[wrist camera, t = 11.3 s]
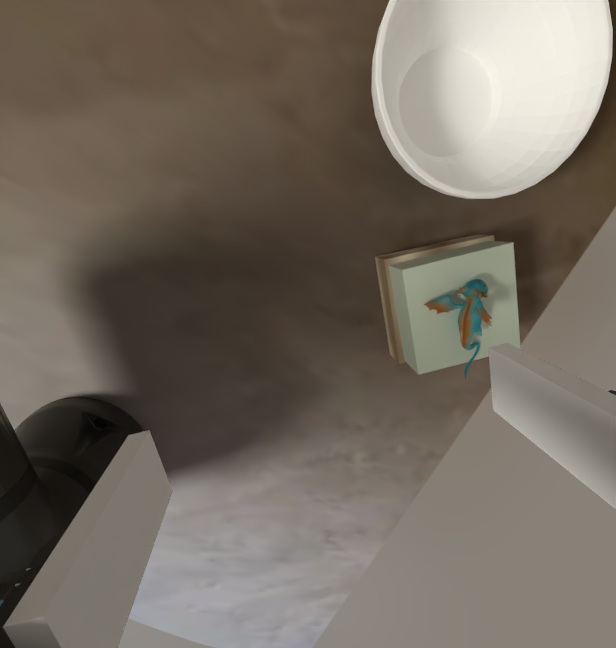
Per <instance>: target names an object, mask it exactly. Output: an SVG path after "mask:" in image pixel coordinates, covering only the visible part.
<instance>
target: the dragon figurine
mask: <svg viewBox="0 0 616 648" xmlns="http://www.w3.org/2000/svg"><path fill="white" fill-rule="evenodd" d="M487 292H488V287H487V285H486V283H485V282H484V281H483V280H481V279H474V280H471V281H469V282H468V283H467V284H466V285H465V286H464V287H462V288H459V290H456V292H454V294H460V293H461V294H463V295H464V296H465V298H466V301H465V302H464V303H463V304H455V303H453V302H452V300H451V296H450V295H445V296H443V297H441V298H438V299H436V300H433V301H431V302H428V303H425V304H424V305H426V306H427V307H428V308H429V310H433V309H435V310H437V314H439V313H442V312H447V313H448V312H449V311H452V310H455V309H458V308H461V310H460V313H459V316H458V327H459V333H460V341H461V344H462V347H463V348H464V349H466V350H472V349H473V348H474V347H475V346H476V345H477V350H476V352H475V353H474V355H473V357H472V358H471V359H470V361H469V362H468V364H467V366H466V369H465V378H466V374H467V370H468V367H469V365H470V363H471V362H472V360H473V359H474V358H475V356H476V355H477V353H478V351H479V348H480V343H479V342H474V343H472V344H470V341H471V338H472V336H473V334H474V333H475V332H476V333H477V335H479V336H482V329H481V321H482V319H483V321H484V322H486V323H487V324H489V323H491V322H490V320H489V319H492V317H491V316H490V315H489V314H488V313H487V312H486V310H485V309H484V307H483V304H482V301H481V300H480V299H481V298H483V297H485V298H486V297H488V296H487ZM488 322H489V323H488ZM489 325H490V324H489ZM490 326H492V325H490Z"/></svg>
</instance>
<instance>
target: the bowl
mask: <svg viewBox="0 0 616 648" xmlns="http://www.w3.org/2000/svg"><path fill="white" fill-rule="evenodd" d="M612 41H613V28H612V21H611V15H610V8H609V2H608V0H390V1H389V3H388V6H387V8H386V11H385V14H384V16H383V19H382V22H381V24H380V27H379V30H378V34H377V40H376V45H375V50H374V55H373V62H372V91H371V92H372V98H373V105H374V112H375V117H376V120H377V123H378V126H379V129H380V132H381V135H382V138H383V139H384V141H385V143H386V145H387V146H388V148H389V150H390V152H391V154H392V155H393V157H394V158H395V159H396V160H397V162H398V163H399V164H400V165H401V166H402V167H403V169H404V170H405V171H406V172H407V173H408V174H410V175H411V176H412V177H414V178H415V179H416V180H418V181H419V182H420V183H422V184H423V185H425V186H428V187H430V188H432V189H434V190H436V191H438V192H441V193H443V194H446V195H450V196H455V197H460V198H465V199H491V198H498V197H502V196H507V195H511V194H515V193H517V192H520V191H522V190H524V189H526V188H528V187H531V186H533V185H535V184H537V183H538V182H539V181H541V180H542V179H544V178H545V177H547V176H548V175H550V174H551V173H552V172H554V171H555V170H556V169H557V168H558V167H559V166H560V165H561V164H562V163H563V162H564V161H565V160H566V159H567V158H568V157H569V156H570V155H571V154H572V153H573V152H574V150H575V149H576V148H577V146H578V145H579V143H580V142H581V141H582V139H583V138H584V136H585V135H586V134H587V132H588V130H589V128H590V126H591V124H592V122H593V120H594V118H595V116H596V115H597V113H598V111H599V108H600V105H601V102H602V99H603V96H604V93H605V90H606V87H607V84H608V79H609V73H610V67H611V61H612Z"/></svg>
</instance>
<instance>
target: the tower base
mask: <svg viewBox="0 0 616 648" xmlns="http://www.w3.org/2000/svg"><path fill="white" fill-rule="evenodd" d="M485 241H495V239H494V235H482V234H475V235H471V236H466V237H462V238H457V239H453V240H448V241H444V242H439V243H435V244H430V245H426V246H421V247H417V248H412V249H408V250H403V251H399V252H394V253H390V254H385V255H381V256H376V257H375V260H376V267H377V273H378V280H379V286H380V293H381V299H382V306H383V312H384V319H385V325H386V332H387V339H388V345H389V352H390V355H391V356H392V357H393V358H394V359H395V360H396V361H397V362H398V364H399V365H400V364H404V363H406V362H405V360H404V354H403V348H402V342H401V336H400V330H399V324H398V318H397V312H396V306H395V300H394V294H393V288H392V282H391V276H390V270H389V265H392V264H396V263H400V262H404V261H408V260H412V259H416V258H420V257H424V256H429V255H433V254H437V253H441V252H445V251H449V250H453V249H457V248H461V247H465V246H469V245H473V244H477V243H481V242H485Z"/></svg>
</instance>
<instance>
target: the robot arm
mask: <svg viewBox="0 0 616 648" xmlns="http://www.w3.org/2000/svg"><path fill="white" fill-rule="evenodd" d="M488 349H489V362H490V376H491V389H492V402H493V410H494V411H495V412H496V413H497V414H499V415H500V416H501V417H502V418H504V419H505V420H506V421H507V422H508V423H510V424H511V425H512V426H513V427H515V428H516V429H518V431H520V432H521V433H522V434H523V435H525V436H526V437H527V438H528V439H530V440H531V441H532V442H533V443H535V444H536V445H537V446H538V447H539V448H541V449H542V450H543V451H544V452H546V453H547V454H548V455H549V456H551V457H552V458H553V459H554V460H556V461H557V462H558V463H559V464H561V465H562V466H563V467H564V468H565V469H567V470H568V471H569V472H571V473H572V474H573V475H574V476H575V477H577V478H578V479H579V480H580V481H582V482H583V483H584V484H585V485H587V486H588V487H589V488H591V490H593V491H594V492H595V493H597V494H598V495H599V496H600V497H601V498H603V499H604V500H605V501H606V502H608V503H609V504H610V505H611V506H613V507H614V508H615V509H616V391H612V390H611V391H606V390H604V389H602V388H600V387H597V386H595V385H593V384H591V383H589V382H587V381H585V380H583V379H581V378H579V377H577V376H575V375H573V374H571V373H568V372H566V371H564V370H562V369H560V368H558V367H556V366H554V365H552V364H550V363H548V362H546V361H543V360H541V359H539V358H537V357H535V356H533V355H531V354H529V353H527V352H525V351H523V350H521V349H519V348H517V347H515V346H513V345H510V344H508V343H505V344H501V345H497V346H492V347H488ZM171 494H172V488H171V486H170V483H169V481H168V478H167V475H166V473H165V470H164V467H163V465H162V462H161V459H160V457H159V454H158V451H157V449H156V446H155V443H154V441H153V438H152V436H151V433H150V430H148V431H144V432H143V430H142V429H141V427H140V426H139V425H138V424H137V422H136V421H135V420H134V419H133V418H132V417H130V416H129V415H128V414H127V413H125V412H124V411H122V410H121V409H119V408H117V407H115V406H113V405H111V404H108V403H106V402H102V401H99V400H94V399H88V398H69V399H63V400H58V401H55V402H52V403H49V404H47V405H45V406H43V407H41V408H40V409H38V410H37V411H35V412H34V413H33V414H32V415H30V416H29V417H28V418H27V419H25V420H24V421H23V422H22V423H21V424H20V425H19V426H18V427H17V428H16V429H15V431H14V429H13V427H12V425H11V424H10V422H9V420H8V418H7V416H6V414H5V412H4V410H3V408H2V406H1V404H0V648H118V646H119V643H120V640H121V637H122V634H123V631H124V628H125V626H126V623H127V620H128V617H129V614H130V611H131V608H132V606H133V603H134V600H135V597H136V594H137V591H138V588H139V586H140V583H141V580H142V577H143V574H144V571H145V568H146V566H147V563H148V560H149V557H150V554H151V551H152V548H153V546H154V543H155V540H156V537H157V534H158V531H159V528H160V526H161V523H162V520H163V517H164V514H165V511H166V508H167V506H168V503H169V500H170V497H171Z"/></svg>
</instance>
